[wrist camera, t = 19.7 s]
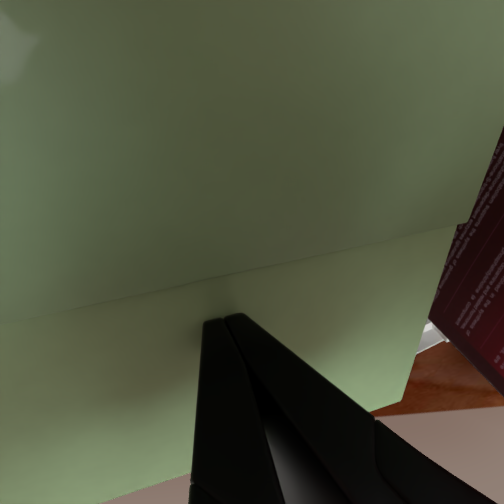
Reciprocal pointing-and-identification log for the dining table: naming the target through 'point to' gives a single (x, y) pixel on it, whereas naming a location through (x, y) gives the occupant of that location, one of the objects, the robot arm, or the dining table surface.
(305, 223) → the carton
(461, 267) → the supplement box
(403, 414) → the dining table surface
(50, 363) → the flap
